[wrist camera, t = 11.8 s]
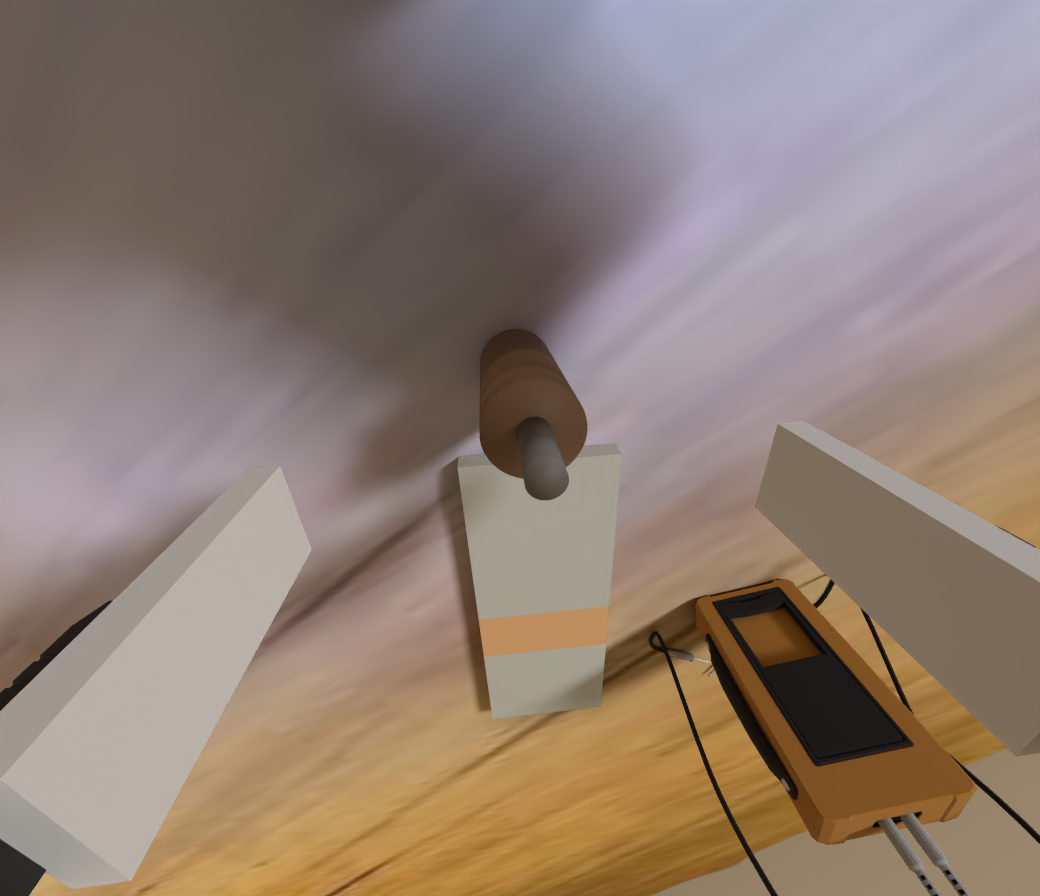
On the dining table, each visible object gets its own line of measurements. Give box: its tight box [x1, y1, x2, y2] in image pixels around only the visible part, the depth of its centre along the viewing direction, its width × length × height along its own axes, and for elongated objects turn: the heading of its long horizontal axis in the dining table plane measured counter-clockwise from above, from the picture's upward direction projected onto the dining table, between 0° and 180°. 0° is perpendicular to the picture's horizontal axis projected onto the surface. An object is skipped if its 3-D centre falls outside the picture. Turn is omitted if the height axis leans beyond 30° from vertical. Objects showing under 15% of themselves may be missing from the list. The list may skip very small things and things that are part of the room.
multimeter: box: [649, 579, 1040, 896], centre depth 23 cm, size 15×10×20 cm
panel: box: [457, 444, 622, 719], centre depth 28 cm, size 24×9×1 cm, turn 3°
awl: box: [480, 329, 587, 500], centre depth 15 cm, size 4×4×11 cm
